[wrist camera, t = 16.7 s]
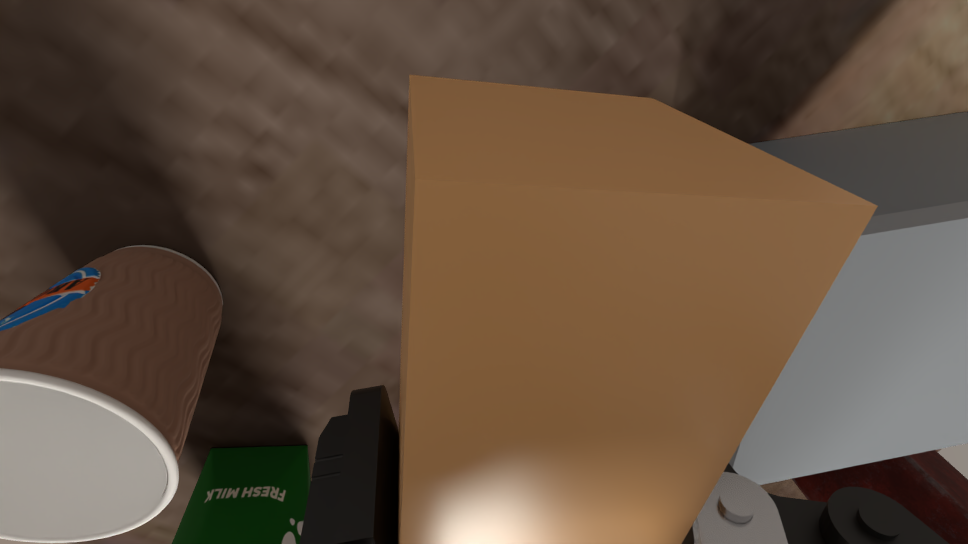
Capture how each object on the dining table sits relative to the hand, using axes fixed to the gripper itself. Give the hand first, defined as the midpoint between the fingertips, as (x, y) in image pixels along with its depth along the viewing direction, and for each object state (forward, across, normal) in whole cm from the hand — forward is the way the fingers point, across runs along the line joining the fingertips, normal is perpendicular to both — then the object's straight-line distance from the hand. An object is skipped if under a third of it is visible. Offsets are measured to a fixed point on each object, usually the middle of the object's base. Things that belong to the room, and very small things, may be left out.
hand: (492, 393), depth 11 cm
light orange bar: (+1, 0, 0) cm, 1 cm away
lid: (+7, -23, +10) cm, 26 cm away
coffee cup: (+18, +18, +6) cm, 26 cm away
